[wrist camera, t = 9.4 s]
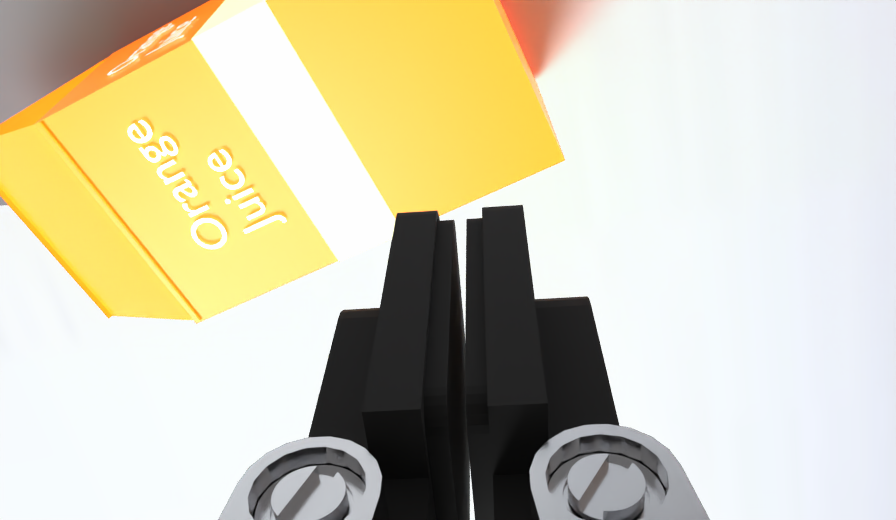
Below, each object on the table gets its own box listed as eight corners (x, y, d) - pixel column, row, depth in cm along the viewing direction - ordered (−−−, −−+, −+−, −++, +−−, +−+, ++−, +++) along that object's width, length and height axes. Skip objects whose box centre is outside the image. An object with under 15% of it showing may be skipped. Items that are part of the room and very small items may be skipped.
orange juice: (449, -100, 22) (-102, 194, 26) (566, 164, 26) (77, 380, 30) (442, -129, 28) (5, 108, 33) (537, 84, 33) (139, 270, 37)
